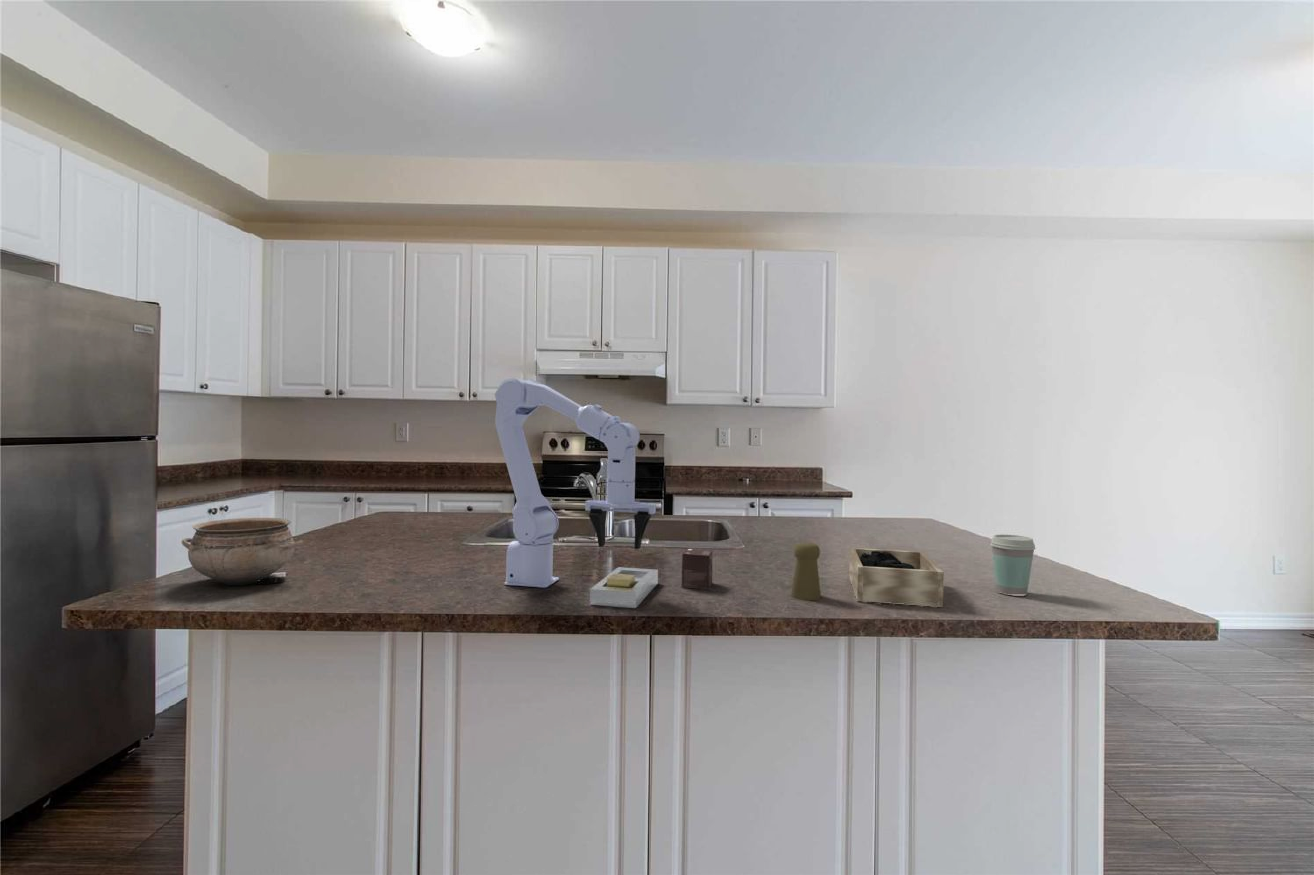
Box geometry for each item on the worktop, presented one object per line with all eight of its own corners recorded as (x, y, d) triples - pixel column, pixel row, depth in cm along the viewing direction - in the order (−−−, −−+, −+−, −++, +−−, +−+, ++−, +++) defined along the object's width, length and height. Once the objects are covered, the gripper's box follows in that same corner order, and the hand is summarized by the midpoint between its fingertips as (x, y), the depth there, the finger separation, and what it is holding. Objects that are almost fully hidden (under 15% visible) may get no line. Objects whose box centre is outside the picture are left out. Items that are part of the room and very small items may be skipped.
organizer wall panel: (857, 601, 132) (858, 566, 132) (849, 578, 153) (850, 547, 153) (862, 602, 132) (863, 567, 132) (853, 578, 152) (854, 548, 152)
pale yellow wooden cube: (606, 601, 129) (607, 578, 129) (613, 595, 134) (613, 573, 134) (628, 603, 128) (629, 580, 128) (634, 597, 133) (635, 575, 133)
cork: (822, 594, 138) (823, 541, 137) (819, 601, 132) (820, 546, 132) (792, 591, 140) (794, 539, 139) (788, 598, 134) (790, 544, 134)
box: (709, 589, 140) (709, 555, 140) (681, 587, 141) (681, 553, 141) (712, 583, 146) (713, 549, 146) (685, 581, 147) (686, 548, 147)
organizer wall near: (862, 602, 132) (863, 567, 132) (861, 600, 133) (862, 566, 133) (937, 607, 129) (938, 571, 129) (936, 606, 130) (937, 570, 130)
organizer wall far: (854, 579, 151) (854, 548, 151) (853, 578, 152) (854, 548, 152) (918, 583, 149) (919, 552, 148) (918, 582, 150) (918, 551, 149)
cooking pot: (324, 572, 149) (325, 518, 148) (276, 594, 130) (276, 532, 130) (213, 570, 149) (214, 516, 149) (149, 591, 130) (149, 529, 130)
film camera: (935, 602, 133) (936, 558, 133) (894, 605, 131) (895, 560, 130) (888, 584, 148) (889, 544, 148) (850, 586, 145) (851, 545, 145)
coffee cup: (1032, 591, 143) (1033, 536, 143) (1036, 600, 136) (1037, 542, 135) (988, 586, 147) (989, 532, 147) (989, 595, 139) (991, 538, 139)
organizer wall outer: (937, 607, 129) (938, 571, 129) (918, 582, 150) (918, 551, 149) (942, 607, 129) (943, 572, 129) (922, 582, 149) (923, 551, 149)
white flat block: (590, 604, 127) (590, 588, 126) (617, 580, 146) (618, 567, 146) (635, 608, 125) (635, 592, 125) (657, 583, 144) (658, 569, 144)
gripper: (580, 481, 133) (579, 548, 134) (650, 484, 130) (649, 553, 131) (592, 478, 140) (590, 542, 141) (658, 481, 137) (657, 546, 137)
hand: (619, 547), depth 136 cm, fingers open, 7 cm apart
